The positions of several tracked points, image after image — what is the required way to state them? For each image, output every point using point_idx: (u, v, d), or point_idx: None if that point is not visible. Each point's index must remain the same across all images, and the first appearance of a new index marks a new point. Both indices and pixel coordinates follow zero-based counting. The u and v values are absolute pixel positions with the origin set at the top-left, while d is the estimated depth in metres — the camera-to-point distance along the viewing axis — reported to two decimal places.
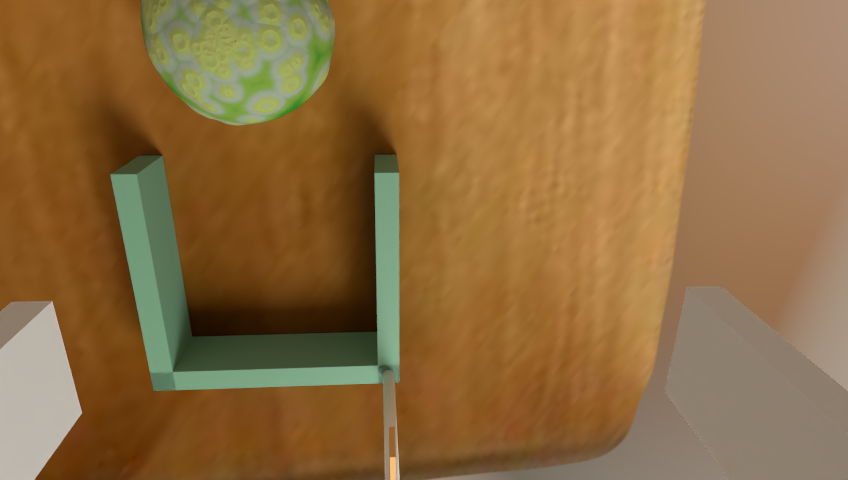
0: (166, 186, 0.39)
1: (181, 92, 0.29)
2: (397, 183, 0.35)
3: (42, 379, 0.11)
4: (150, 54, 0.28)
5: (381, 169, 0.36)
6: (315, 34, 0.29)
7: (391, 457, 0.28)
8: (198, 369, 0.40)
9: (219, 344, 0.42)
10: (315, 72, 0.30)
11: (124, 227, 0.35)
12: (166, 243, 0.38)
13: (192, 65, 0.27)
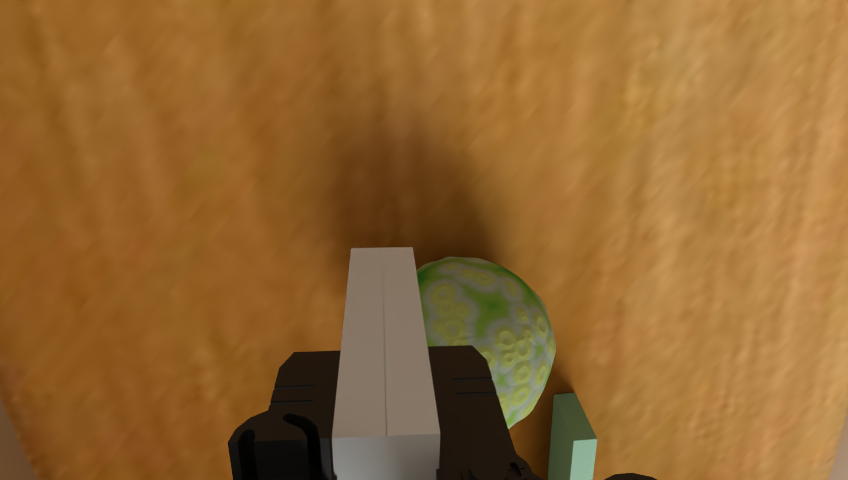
0: None
1: None
2: (594, 447, 0.36)
3: None
4: None
5: (576, 431, 0.37)
6: (550, 366, 0.30)
7: None
8: None
9: None
10: None
11: None
12: None
13: None
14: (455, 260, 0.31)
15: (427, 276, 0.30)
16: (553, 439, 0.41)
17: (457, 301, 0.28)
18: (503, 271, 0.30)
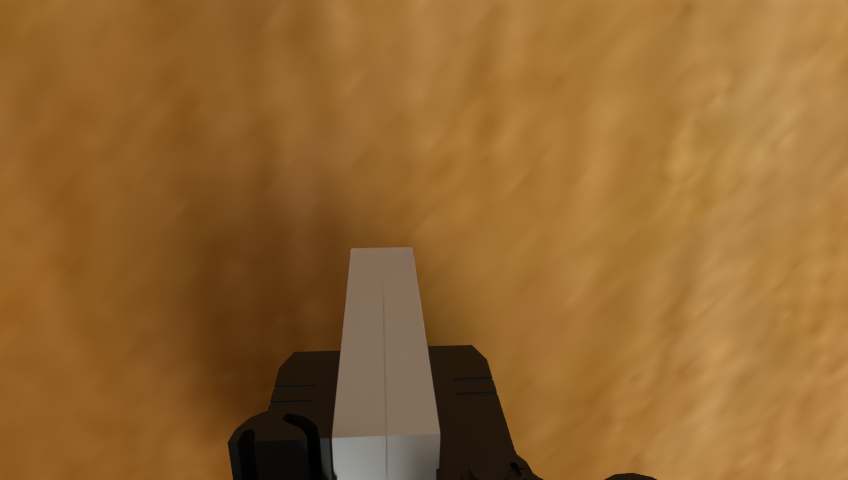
0: None
1: None
2: None
3: None
4: None
5: None
6: None
7: None
8: None
9: None
10: None
11: None
12: None
13: None
14: None
15: None
16: None
17: None
18: None
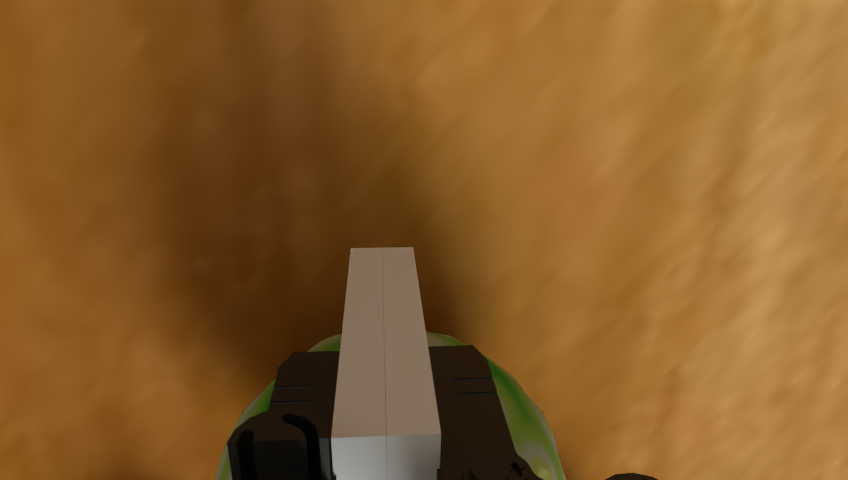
0: None
1: None
2: None
3: None
4: None
5: None
6: None
7: None
8: None
9: None
10: None
11: None
12: None
13: None
14: None
15: None
16: None
17: None
18: None
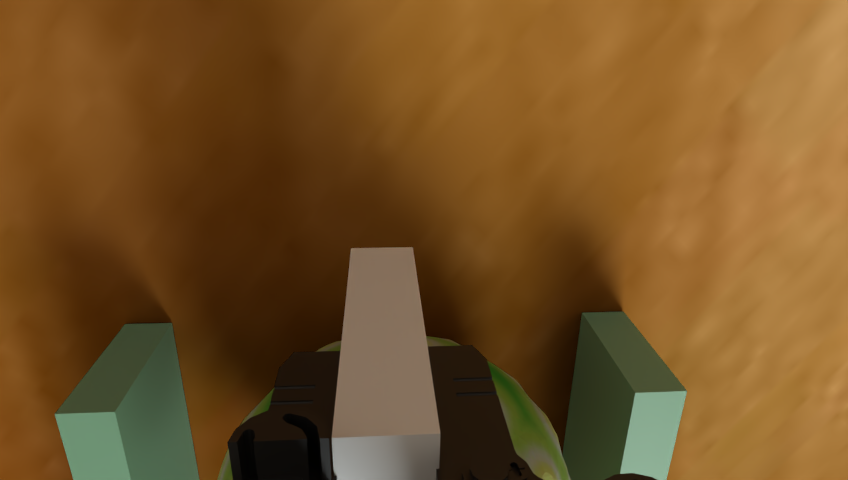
0: (179, 378, 0.20)
1: None
2: (679, 410, 0.16)
3: None
4: None
5: (639, 376, 0.17)
6: None
7: None
8: None
9: None
10: None
11: None
12: None
13: None
14: None
15: None
16: (576, 405, 0.21)
17: None
18: None
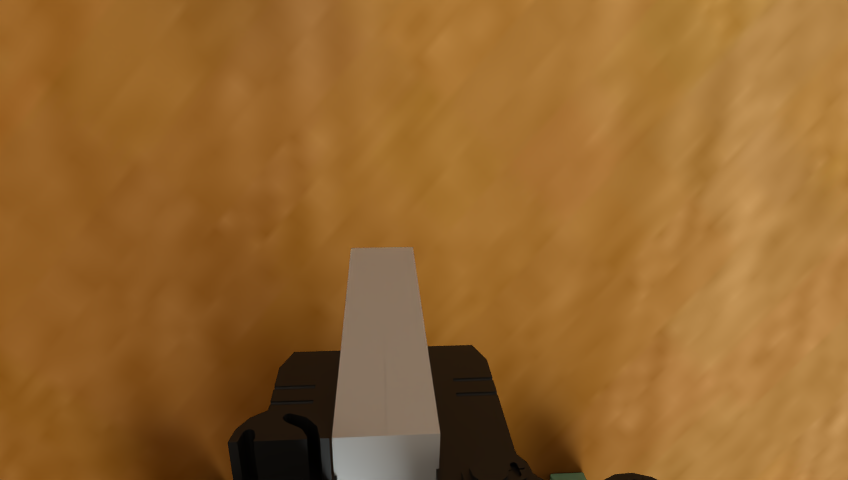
0: None
1: None
2: None
3: None
4: None
5: None
6: None
7: None
8: None
9: None
10: None
11: None
12: None
13: None
14: None
15: None
16: None
17: None
18: None
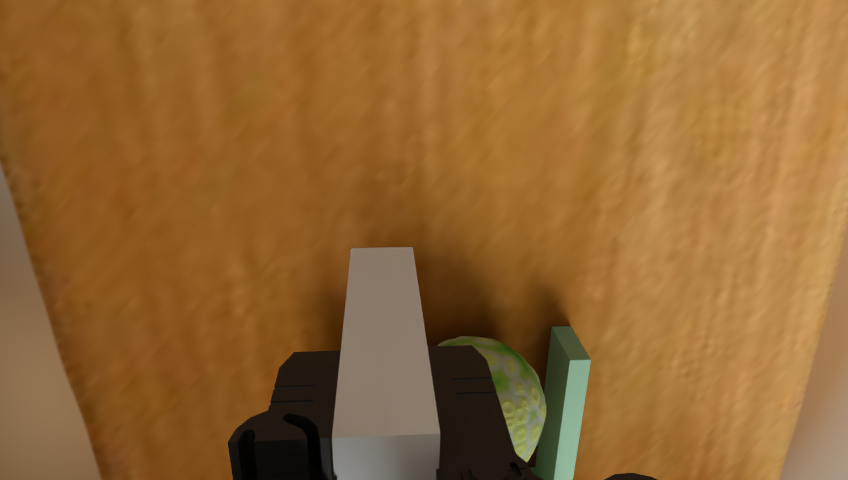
0: None
1: None
2: (588, 368, 0.40)
3: None
4: None
5: (572, 354, 0.40)
6: (542, 426, 0.38)
7: None
8: None
9: None
10: None
11: None
12: None
13: None
14: (466, 341, 0.39)
15: None
16: (549, 369, 0.45)
17: None
18: (504, 350, 0.39)
